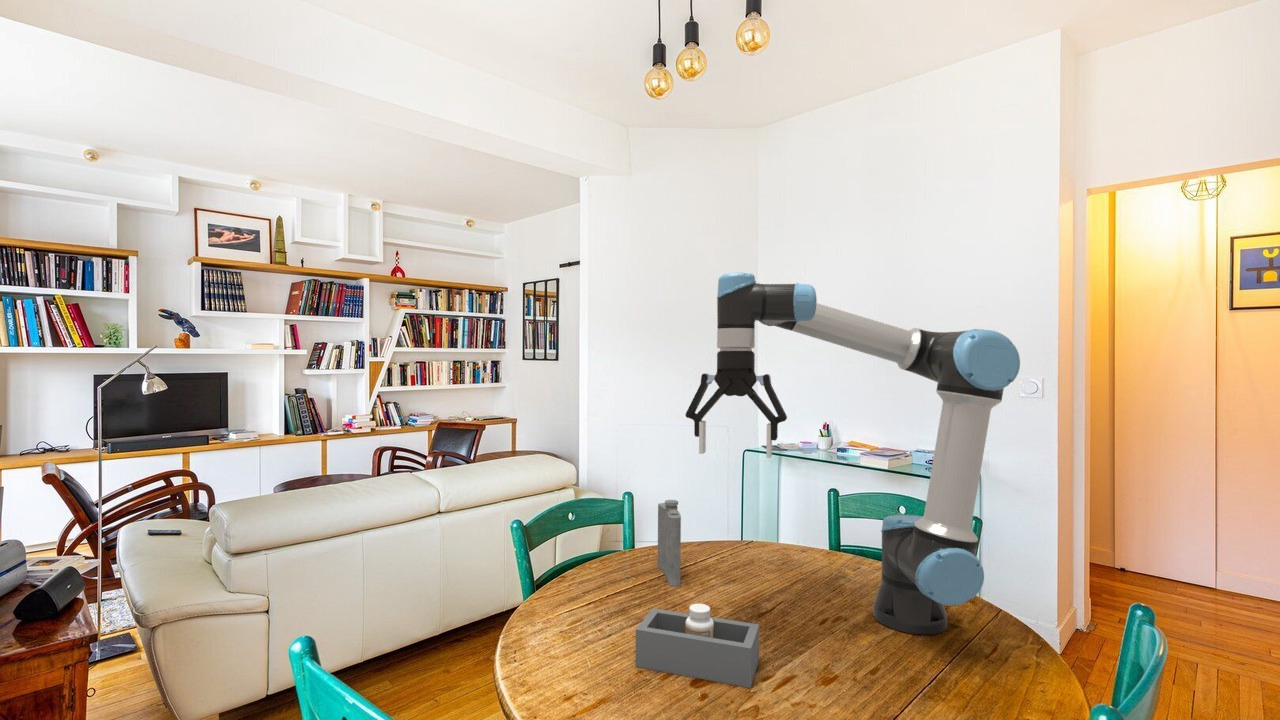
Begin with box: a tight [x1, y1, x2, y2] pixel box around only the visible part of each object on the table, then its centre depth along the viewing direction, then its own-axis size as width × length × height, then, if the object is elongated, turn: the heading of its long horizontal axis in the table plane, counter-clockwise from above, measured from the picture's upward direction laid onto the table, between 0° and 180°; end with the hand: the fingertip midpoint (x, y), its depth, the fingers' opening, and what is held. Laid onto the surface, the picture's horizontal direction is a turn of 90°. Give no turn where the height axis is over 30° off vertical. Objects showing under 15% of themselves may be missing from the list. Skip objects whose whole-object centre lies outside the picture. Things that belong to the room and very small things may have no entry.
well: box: [634, 607, 760, 689], centre depth 114 cm, size 22×10×7 cm, turn 71°
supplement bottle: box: [685, 603, 714, 638], centre depth 114 cm, size 5×5×10 cm
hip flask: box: [657, 499, 682, 588], centre depth 161 cm, size 16×4×20 cm, turn 10°
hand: (735, 454), depth 122 cm, fingers open, 13 cm apart
